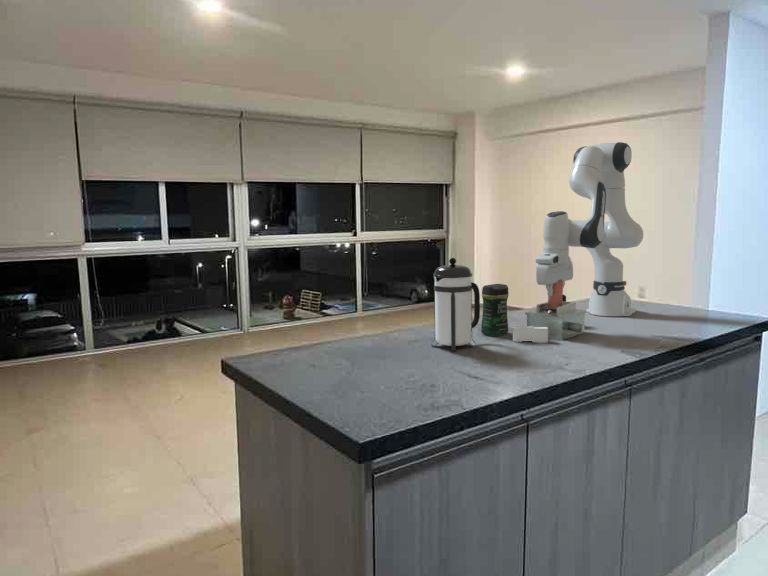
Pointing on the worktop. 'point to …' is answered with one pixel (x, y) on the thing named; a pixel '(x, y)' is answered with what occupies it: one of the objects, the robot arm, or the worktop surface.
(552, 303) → the spout can
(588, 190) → the robot arm
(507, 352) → the worktop surface
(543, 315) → the pale green square box
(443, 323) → the coffee press
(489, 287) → the coffee jar
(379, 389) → the worktop surface
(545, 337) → the white stepped block
